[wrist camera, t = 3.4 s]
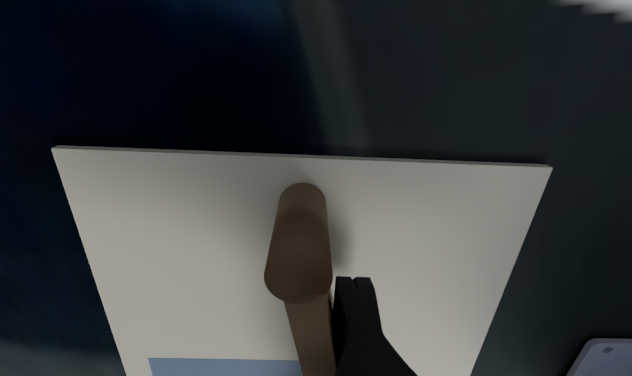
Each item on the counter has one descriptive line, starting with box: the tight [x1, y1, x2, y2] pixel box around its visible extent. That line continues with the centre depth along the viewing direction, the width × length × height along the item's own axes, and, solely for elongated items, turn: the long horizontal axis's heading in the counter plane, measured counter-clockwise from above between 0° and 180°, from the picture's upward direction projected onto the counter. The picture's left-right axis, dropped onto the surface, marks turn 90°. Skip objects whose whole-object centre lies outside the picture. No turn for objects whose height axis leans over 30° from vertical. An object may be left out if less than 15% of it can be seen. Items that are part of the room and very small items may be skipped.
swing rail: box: [264, 183, 338, 376], centre depth 13 cm, size 13×2×5 cm, turn 9°
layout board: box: [51, 145, 553, 376], centre depth 18 cm, size 20×24×1 cm
